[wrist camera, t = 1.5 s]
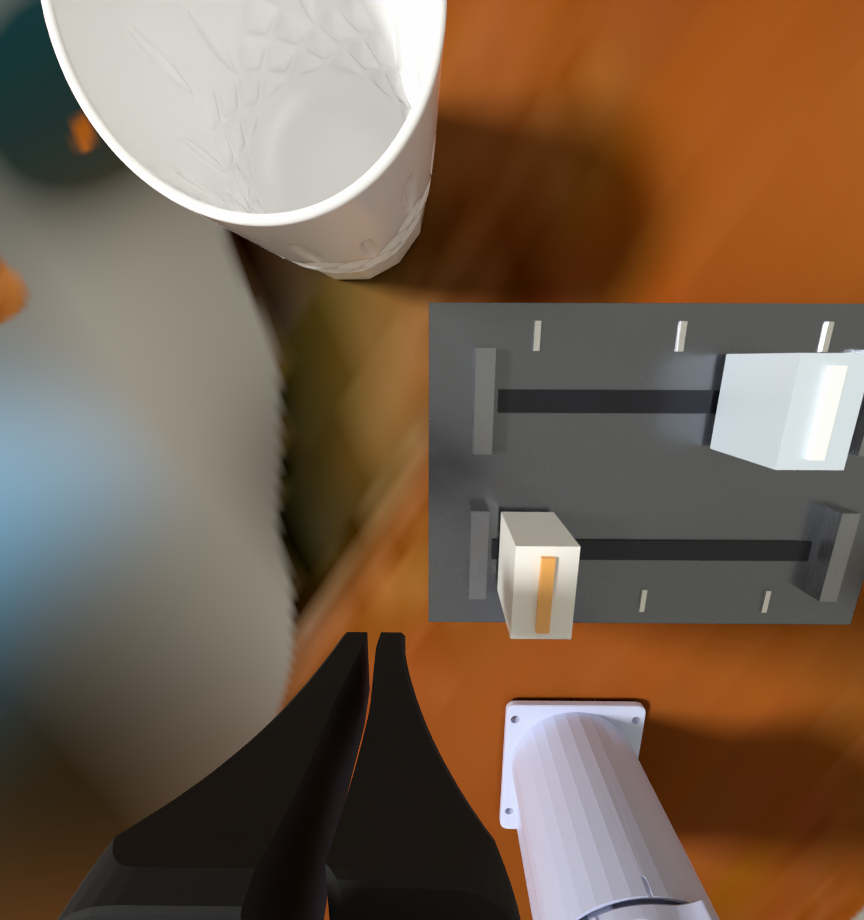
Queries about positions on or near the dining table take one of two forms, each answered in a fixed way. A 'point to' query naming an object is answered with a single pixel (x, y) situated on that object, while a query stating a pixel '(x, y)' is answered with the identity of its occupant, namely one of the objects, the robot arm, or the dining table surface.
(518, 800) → the robot arm
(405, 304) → the dining table surface
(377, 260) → the white cup
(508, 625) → the fader cream
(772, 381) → the fader bluegrey
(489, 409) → the console
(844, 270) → the dining table surface
